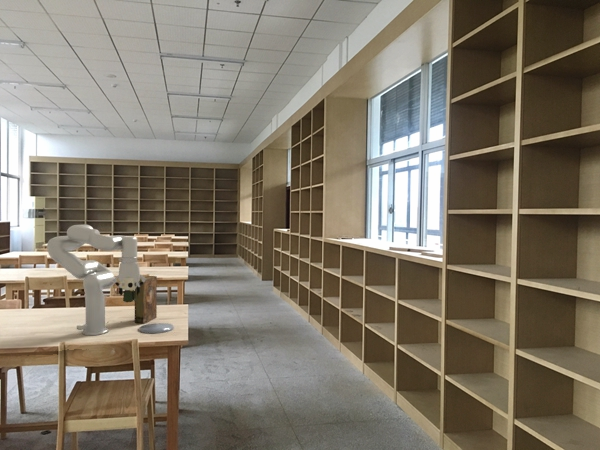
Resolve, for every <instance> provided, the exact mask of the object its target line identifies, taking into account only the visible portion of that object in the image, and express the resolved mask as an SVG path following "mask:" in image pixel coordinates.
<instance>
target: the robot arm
mask: <svg viewBox="0 0 600 450" xmlns="http://www.w3.org/2000/svg"><path fill="white" fill-rule="evenodd" d="M84 245H89V246H91V247H92V248H94V249H96V250H101V251H105V252H114V251H121V257H120V258H119V257H118V261H119V262H121V263H119V267H118V275H117V276H115V274H114V273H113V272H112V271H111V270H110V269H108V268H107V267H106V266H105V265H103V264H102V263H101V262H99V261H97V260H95V259H89V260H88V259H87V260H84V259H83V260H82V259H81V258H79V257H78V256H76V255H75V254H74V253H73V252H71V251H75V250H78V249H79V248H81V247H83V246H84ZM46 249H47V253H48V255H49V256H50V258H51V259H52V260H53V261H54V262H55V263H56V264H58V265H60V266H61V267H62V268H64V270H65V271H67V272H68V273H69V274H71V275H72V276H73V277H74V278H76V279H78V280H83V283H82V284H83V290H84V299H85V300H84V301H85V302H84V303H85V323H84V324H83V325H80V324H79V325H76V330H79V331H82V332H81V333H82V334H83V335H84V336H99V335H103V334H107V333H108V332H109V328H107V327H106V298H105V294H104V292H103V290H106V289H109V288H111V287H113V286H114V285H115V286H116V287H118V294H119V295H120V296H123V289H122V288H120V282H122V281H123V282H124V278H133V282H134V283H136V284H137V295H138V294H139V293H140V286H141V285H142V284H143V283H144V282H145V281H146V278H144V277H145V276H144V275H142V274H141V269H140V263H139V262H138V237H136V236H130V235H129V236H126V235H119V234H118V235H109V236H107V235H103V234H101V232H100V230H99V229H96V228H93V226H91V225H89V224H74V225H70V226H69V227H68V229H67V230H66V235H58V236H55V237H52V238H50V239H49V240H48V241H47V244H46ZM140 278H141V279H142V282H141V283H139V281H140Z"/></svg>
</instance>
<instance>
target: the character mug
mask: <svg viewBox="0 0 600 450" xmlns="http://www.w3.org/2000/svg"><path fill="white" fill-rule="evenodd" d="M119 284H120V288H122V291H123V290H124V291H123V295H122V302H125V303H133V302H135V301H136V298H135V289H136V288H137V284H136V283H134V282H133V278H124V282H123V281H122V282H119Z"/></svg>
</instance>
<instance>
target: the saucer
mask: <svg viewBox="0 0 600 450" xmlns="http://www.w3.org/2000/svg"><path fill="white" fill-rule="evenodd" d="M138 329H139V332H140V333H142V334H163V333H168V332H171V331H172V330H174V329H175V328H174V325H173V323H172V324H171V323H167V322H166V323H165V322H157V323H156V322H154V323H146V324H143V325H141V326H140V327H139V328H138Z"/></svg>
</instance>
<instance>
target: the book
mask: <svg viewBox="0 0 600 450" xmlns="http://www.w3.org/2000/svg"><path fill="white" fill-rule="evenodd" d="M143 277H144V278H146V281H145V282H144V283H143V284H142V285H141V286H140V293H139V294H138V295H137V288H136V289H134V291H135V298H136V301H134V323H135V324H137V323H138V324H139V323H140V324H148V322H151V321H153V320H155V319H157V317H158V316H157V315H158V312H157V308H158V307H157V300H158V299H157V298H158V297H157V295H158V294H157V293H158V291H157V285H158V284H157V283H158V282H157V281H158V280H157V279H158V278H157V276H156V275H148V276H143ZM141 282H142V279H141V278H140V281H139V283H141Z"/></svg>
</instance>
